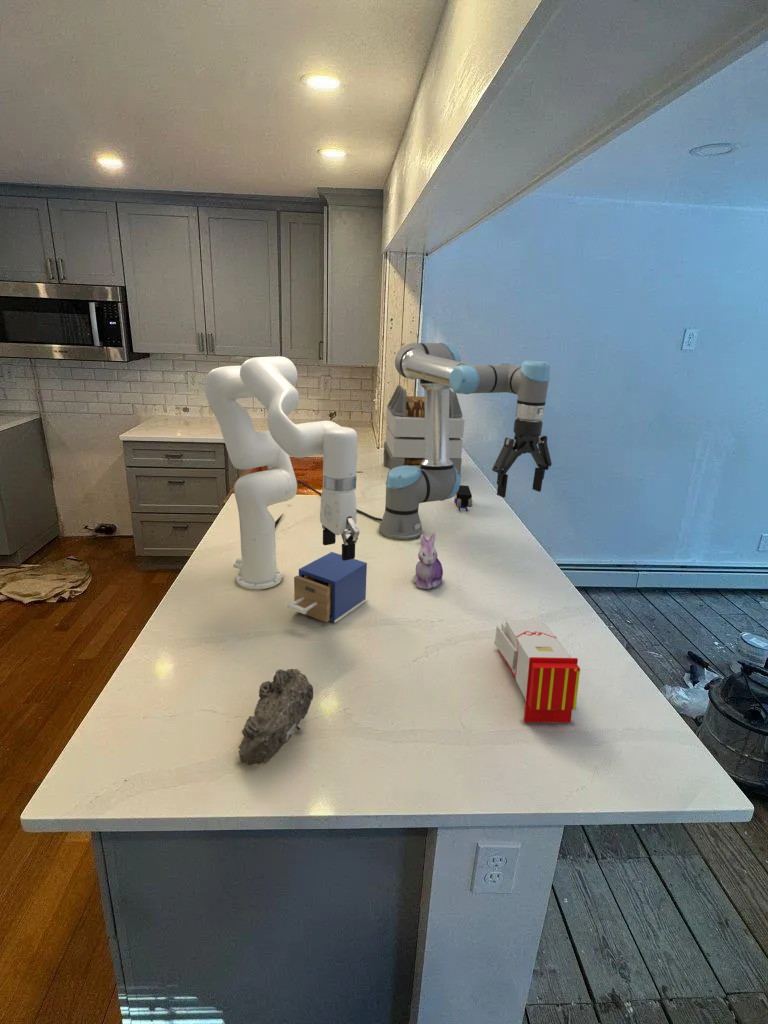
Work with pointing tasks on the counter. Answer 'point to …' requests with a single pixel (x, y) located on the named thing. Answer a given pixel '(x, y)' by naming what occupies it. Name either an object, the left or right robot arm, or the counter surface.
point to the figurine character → (463, 497)
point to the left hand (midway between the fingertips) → (338, 551)
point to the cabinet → (340, 581)
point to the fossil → (275, 716)
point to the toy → (540, 670)
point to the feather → (278, 520)
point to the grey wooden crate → (417, 430)
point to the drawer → (312, 598)
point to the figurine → (428, 565)
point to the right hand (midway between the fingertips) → (519, 493)
